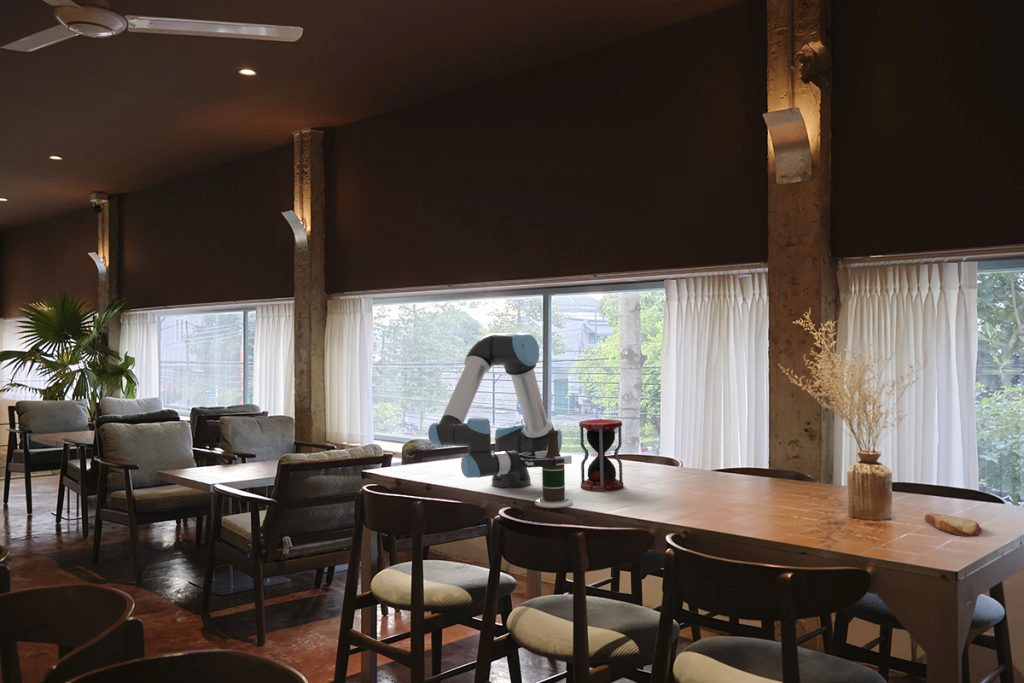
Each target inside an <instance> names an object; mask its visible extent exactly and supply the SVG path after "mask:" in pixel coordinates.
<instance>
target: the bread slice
mask: <svg viewBox="0 0 1024 683" xmlns="http://www.w3.org/2000/svg"><path fill="white" fill-rule="evenodd" d="M923 520H924V521H925V522H926V523H927V524H929V525H930V526H932V527H933V528H935V529H937V530H939V531H941V532H944V533H948V534H950V535H955V536H958V537H965V538H966V537H967V538H968V537H969V538H970V537H979V534H980V533H982V528H981V526H980V524H979V523H978V522H977V521H976V520H972V519H967V518H962V517H958V516H954V515H947V514H941V513H934V512H933V513H932V512H926V513H925V515H924V518H923Z"/></svg>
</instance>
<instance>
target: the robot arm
mask: <svg viewBox="0 0 1024 683" xmlns="http://www.w3.org/2000/svg"><path fill="white" fill-rule="evenodd" d="M539 352H540V346H539V344H538V341H537V339H536V338H535V336H533V335H532V334H530V333H527V332H525V333H524V332H515V333H514V332H513V333H511V332H509V333H507V332H505V333H490V334H487V335H484V336H483V337H482V338H481V339H479V340H477V342H476V343H475V344H473V346H472V347H471V349H470V350H469V351H468V353H467V354H466V357H465V359H464V368H463V370H462V372H461V375H460V377H459V379H458V381H457V383H456V386H455V388H454V390H453V392H452V395H451V396H450V398H449V401H448V402H447V405H446V408H445V410H444V413H443V415H442V416H441V419H440V421H436V422H432V423H431V424H430V426H429V428H428V431H427V432H428V433H427V435H428V436H427V438H428V440H429V442H430V443H431V444H432V445H437V446H452V447H453V446H456V447H457V446H458V447H467V449H468V450H467V453H468V454H466V455H464V456H462V458H461V462H460V469H461V473H462V475H463V476H464V477H465V478H468V479H470V478H474V479H475V478H477V479H478V478H479V479H480V478H483V477H491V476H492V479H491V485H492V486H493V487H498V488H506V489H508V488H522V487H526V486H527V487H528V486H529V485H531V476H530V474H529V473H530V472H529V470H528V468H529V469H531V468H542V467H554V468H556V466H557V465H563V464H564V465H571V464H572V458H573V457H572V455H570V454H569V455H562V456H560V457H554V458H544V457H545V456H546V454H547V451H548V431H549V430H557V431H558V448H559V454H560V452H561V449H562V445H563V444H562V443H563V434H562V431H561V430H560V429H558V428H554V424H553V422H552V421H551V420H549V419H548V417H547V413H546V410H545V407H544V403H543V399H542V395H541V391H540V388H539V384H538V380H537V377H536V373H535V368H536V366H537V363H538V362H539V359H540V353H539ZM493 366H503V367H504V370H505V372H506V374H507V375H509V376H510V377H511V380H512V384H513V387H514V391H515V394H516V397H517V400H518V404H519V407H520V411H521V416H522V418H523V421H524V423H518V424H510V425H509V424H508V425H503V426H500V427H497V428H495V429H496V430H495V432H494V434H495V435H494V437H495V438H494V440H495V441H494V442H495V444H494V445H495V452H492V451H491V450H492V449H491V448H492V446H491V444H492V442H491V441H492V440H491V435H492V434H491V433H492V431H491V423H490V420H489V418H487V417H472V418H469V419H467V421H466V423H464V422H465V420H466V418H467V415H468V413H469V410H470V409H471V407H472V404H473V402H474V399H475V396H476V394H477V392H478V390H479V388H480V386H481V383H482V381H483V378H484V376H485V375H486V374H487V373H489V371H490V369H491V368H492V367H493Z"/></svg>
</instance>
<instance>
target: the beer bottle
mask: <svg viewBox="0 0 1024 683" xmlns="http://www.w3.org/2000/svg"><path fill="white" fill-rule="evenodd" d="M560 456H561V454H560V453H559V448H558V431H557V430H549V431H548V451H547V454H546V456H545V457H544V458H554V457H560ZM541 468H542V472H541V474H542V476H541V477H542V480H541V481H542V484H541V486H542V487H541V488H542V497H543V499H544V500H545V501H551V502H556V501H562V500H564V499H565V497H566V495H565V494H566V490H565V489H566V487H565V486H566V484H565V482H566V481H565V471H566V470H565V468H566V467H565V464H563V465H557V466H556V468H554V467H541Z"/></svg>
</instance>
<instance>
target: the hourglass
mask: <svg viewBox="0 0 1024 683" xmlns="http://www.w3.org/2000/svg"><path fill="white" fill-rule="evenodd" d="M578 426H579V427H580V428H579V429H580V430H579V432H580V433H579V434H580V446H581V449H582V450H583V451H584V458H583V459H582V461H581V465H580V472H581V474H580V475H581V476H580V477H581V482H580V488H581V489H583V490H586V491H594V492H595V491H596V492H611V491H617V490H621V489H623V488H624V481H623V463H622V460H621V459H620V458H619V450H620V449H621V447H622V444H623V443H622V442H623V440H622V426H623V421H621V420H618V419H606V418H605V419H604V418H603V419H602V418H599V419H596V418H595V419H586V420H585V419H584V420H580V421H579V422H578ZM584 429H585V430H586V439H587V442H588V444H589V446H590V447H591V448H592V449H593V451H595V452H596V453H597V456H596V457H595V458H594V459H593V460H592V461H591V463H590V464H589V465H588V468H587V478H586V479H585V464H586V461H587V460H588V458H589V455H590V454H589V451H588V449H587V448H586V446H585V443H584V442H585V441H584V440H585V439H584V438H585V437H584ZM616 429H617V430H618V433H617V434H618V437H617V438H618V445H617V447H616V448H615V449H614V452H613V456H614V459H615V460H616V461H617V463H618V473H619V474H618V475H619V476H618V478H619V479H617V470H616V467H615V465H614V464H613V462H612V461H611V460H610V459H609V458H608V456H606V452H608V450H609V449H610V448H611V447H612V446H613V444H614V442H615V440H616Z"/></svg>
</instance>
